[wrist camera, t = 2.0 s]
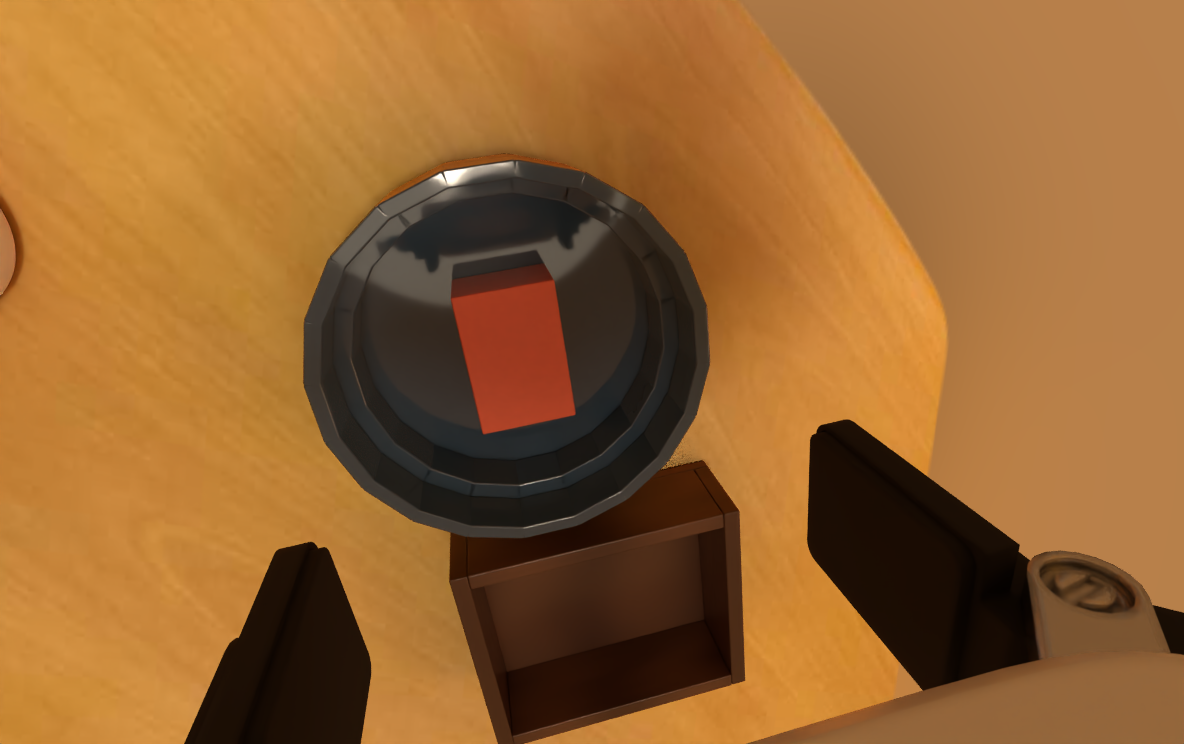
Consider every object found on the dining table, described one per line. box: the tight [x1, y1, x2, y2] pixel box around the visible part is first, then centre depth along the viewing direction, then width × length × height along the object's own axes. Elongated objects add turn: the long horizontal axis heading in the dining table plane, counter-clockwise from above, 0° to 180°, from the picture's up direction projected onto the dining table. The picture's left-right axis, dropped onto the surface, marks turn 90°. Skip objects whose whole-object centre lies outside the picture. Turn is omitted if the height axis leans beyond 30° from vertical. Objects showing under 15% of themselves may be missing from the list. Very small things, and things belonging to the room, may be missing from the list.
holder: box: [449, 461, 745, 744], centre depth 31 cm, size 14×12×5 cm
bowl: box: [303, 153, 710, 538], centre depth 25 cm, size 15×15×5 cm
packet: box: [451, 264, 576, 434], centre depth 25 cm, size 4×6×3 cm, turn 8°
